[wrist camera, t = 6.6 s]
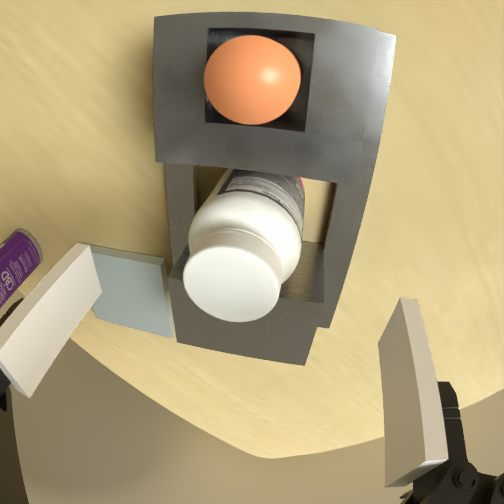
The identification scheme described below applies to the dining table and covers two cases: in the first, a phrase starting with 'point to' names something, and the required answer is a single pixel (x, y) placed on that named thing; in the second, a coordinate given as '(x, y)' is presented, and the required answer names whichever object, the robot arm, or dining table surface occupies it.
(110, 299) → the pad
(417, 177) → the dining table surface
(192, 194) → the housing
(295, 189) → the pill bottle
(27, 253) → the container
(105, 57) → the dining table surface
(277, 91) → the orange oval piece
